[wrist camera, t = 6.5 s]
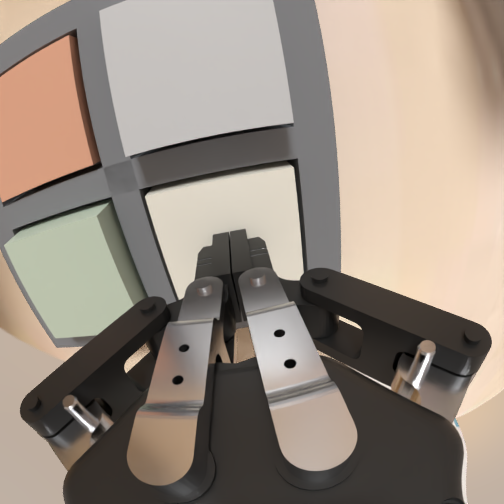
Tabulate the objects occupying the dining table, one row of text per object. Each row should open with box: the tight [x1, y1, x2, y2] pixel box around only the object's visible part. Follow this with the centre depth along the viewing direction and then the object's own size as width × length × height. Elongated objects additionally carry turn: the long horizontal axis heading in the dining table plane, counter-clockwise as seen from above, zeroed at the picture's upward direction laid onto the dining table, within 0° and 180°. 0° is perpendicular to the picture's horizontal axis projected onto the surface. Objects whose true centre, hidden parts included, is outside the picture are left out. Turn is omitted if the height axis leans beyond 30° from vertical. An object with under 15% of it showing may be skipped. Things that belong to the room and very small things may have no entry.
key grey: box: [99, 0, 294, 157], centre depth 9 cm, size 6×6×2 cm
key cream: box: [145, 160, 304, 300], centre depth 14 cm, size 6×6×2 cm
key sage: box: [4, 198, 148, 338], centre depth 13 cm, size 6×6×2 cm
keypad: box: [0, 0, 341, 348], centre depth 13 cm, size 19×19×3 cm
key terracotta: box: [0, 35, 101, 202], centre depth 10 cm, size 6×6×2 cm
